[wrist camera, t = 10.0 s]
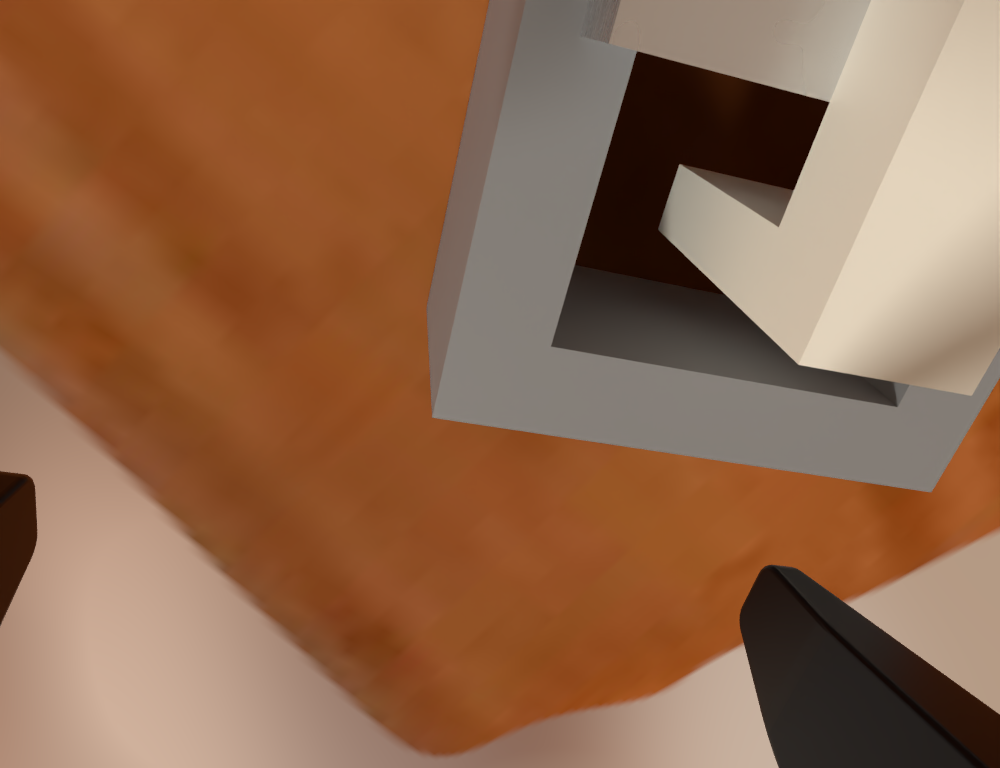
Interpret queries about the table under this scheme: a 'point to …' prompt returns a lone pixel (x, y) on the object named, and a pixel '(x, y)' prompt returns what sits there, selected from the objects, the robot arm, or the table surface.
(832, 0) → the cross bar
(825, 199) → the cream block
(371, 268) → the table surface
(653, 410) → the frame
